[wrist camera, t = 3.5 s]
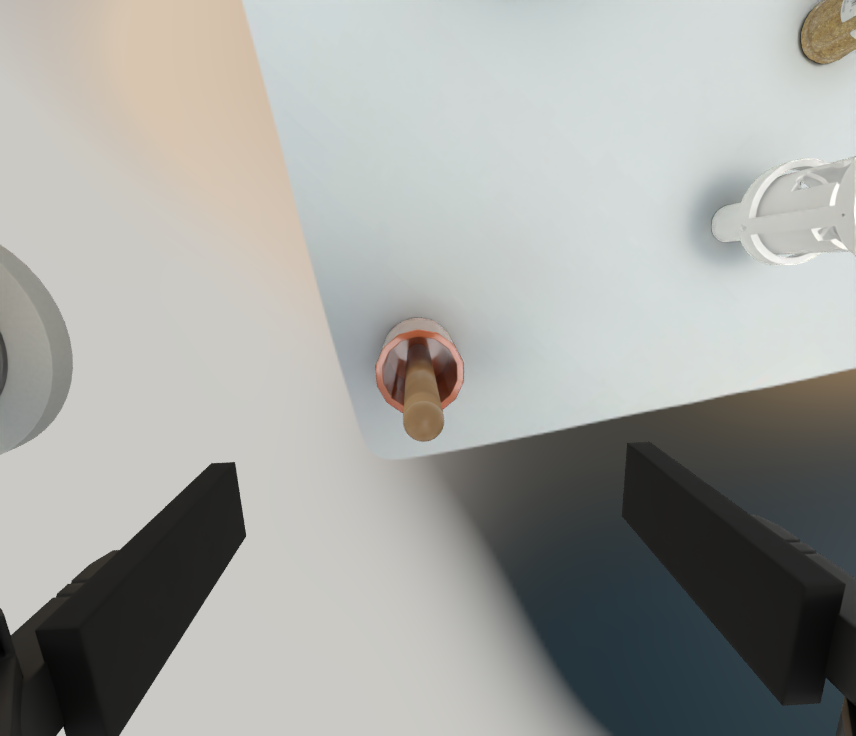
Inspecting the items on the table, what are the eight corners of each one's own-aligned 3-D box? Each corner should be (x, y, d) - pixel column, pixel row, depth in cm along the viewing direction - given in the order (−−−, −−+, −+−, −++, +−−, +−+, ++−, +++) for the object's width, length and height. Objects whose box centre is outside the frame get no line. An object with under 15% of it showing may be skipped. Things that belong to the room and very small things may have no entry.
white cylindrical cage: (765, 168, 35) (1018, 95, 20) (773, 252, 37) (1013, 240, 22) (683, 192, 35) (875, 137, 21) (694, 275, 37) (880, 278, 22)
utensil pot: (385, 388, 38) (378, 418, 30) (381, 318, 37) (372, 331, 29) (453, 385, 38) (464, 414, 30) (452, 315, 37) (462, 327, 29)
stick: (407, 365, 37) (403, 449, 20) (406, 342, 37) (401, 408, 19) (430, 364, 37) (446, 447, 20) (429, 341, 37) (445, 406, 19)
